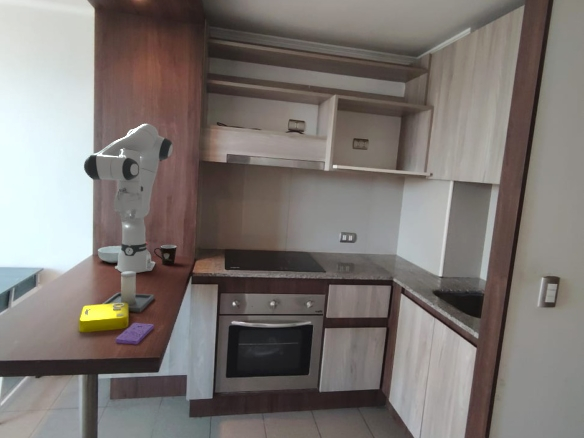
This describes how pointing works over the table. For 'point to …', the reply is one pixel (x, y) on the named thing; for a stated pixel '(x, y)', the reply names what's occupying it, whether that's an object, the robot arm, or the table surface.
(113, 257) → the cereal bowl
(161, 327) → the table surface
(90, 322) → the element tile
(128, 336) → the sponges
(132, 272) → the tin
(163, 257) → the coffee mug
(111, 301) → the tray
